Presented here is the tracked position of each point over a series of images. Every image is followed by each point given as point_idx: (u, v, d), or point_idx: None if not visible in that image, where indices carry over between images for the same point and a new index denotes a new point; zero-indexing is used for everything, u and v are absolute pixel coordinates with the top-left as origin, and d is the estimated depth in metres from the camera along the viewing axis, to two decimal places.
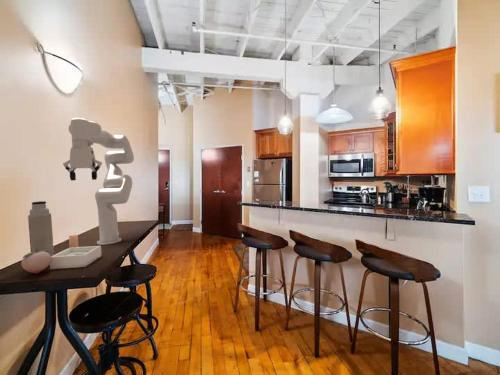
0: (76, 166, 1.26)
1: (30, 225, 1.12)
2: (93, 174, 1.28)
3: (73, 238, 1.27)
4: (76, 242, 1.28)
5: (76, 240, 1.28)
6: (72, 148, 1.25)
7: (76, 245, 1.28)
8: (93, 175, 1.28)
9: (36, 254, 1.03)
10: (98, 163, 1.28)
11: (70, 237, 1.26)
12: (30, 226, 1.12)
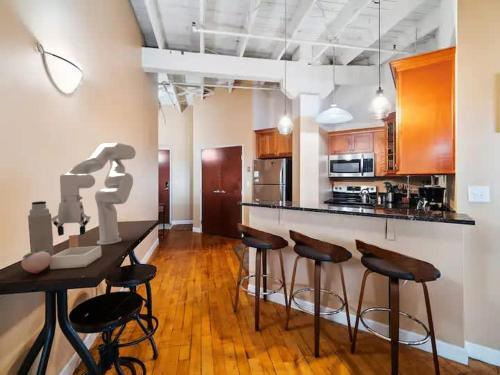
0: (64, 221, 1.25)
1: (30, 225, 1.12)
2: (81, 229, 1.26)
3: (73, 238, 1.27)
4: (76, 242, 1.28)
5: (76, 240, 1.28)
6: (61, 203, 1.24)
7: (76, 245, 1.28)
8: (81, 230, 1.26)
9: (36, 254, 1.03)
10: (87, 218, 1.27)
11: (70, 237, 1.26)
12: (30, 226, 1.12)
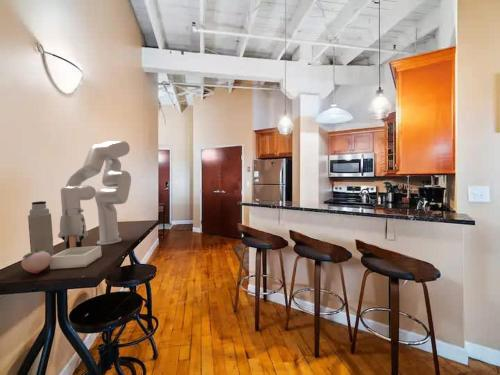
0: (66, 234, 1.26)
1: (30, 225, 1.12)
2: (77, 244, 1.27)
3: (73, 238, 1.26)
4: None
5: (76, 240, 1.28)
6: (62, 217, 1.25)
7: None
8: (77, 245, 1.27)
9: (36, 254, 1.03)
10: (84, 234, 1.28)
11: (70, 237, 1.26)
12: (30, 226, 1.12)
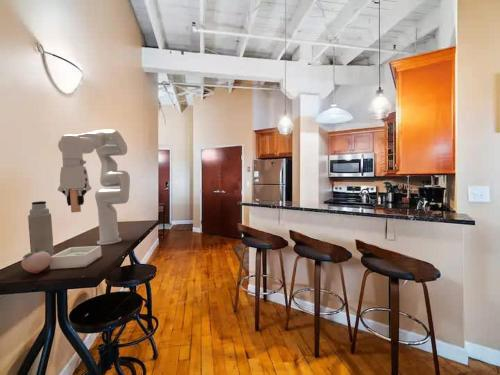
0: (67, 187, 1.14)
1: (30, 225, 1.12)
2: (79, 199, 1.16)
3: (74, 191, 1.15)
4: None
5: (78, 194, 1.16)
6: (63, 168, 1.14)
7: None
8: (79, 200, 1.16)
9: (36, 254, 1.03)
10: (87, 188, 1.17)
11: (71, 190, 1.15)
12: (30, 226, 1.12)
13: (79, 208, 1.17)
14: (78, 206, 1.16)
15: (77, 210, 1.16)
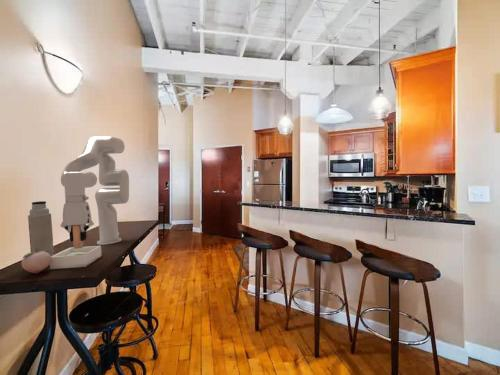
0: (70, 224, 1.15)
1: (30, 225, 1.12)
2: (82, 235, 1.17)
3: (77, 228, 1.16)
4: None
5: (80, 230, 1.17)
6: (65, 204, 1.15)
7: None
8: (82, 236, 1.17)
9: (36, 254, 1.03)
10: (89, 223, 1.17)
11: (74, 227, 1.16)
12: (30, 226, 1.12)
13: (82, 244, 1.18)
14: (81, 242, 1.17)
15: (79, 246, 1.17)
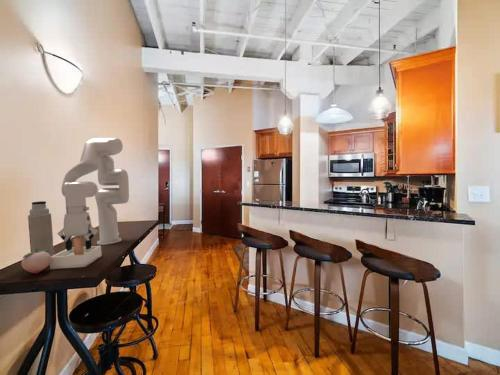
0: (70, 234, 1.16)
1: (30, 225, 1.12)
2: (87, 243, 1.17)
3: (78, 240, 1.16)
4: (81, 245, 1.17)
5: (81, 243, 1.17)
6: (66, 215, 1.15)
7: (81, 248, 1.17)
8: (87, 245, 1.17)
9: (36, 254, 1.03)
10: (93, 231, 1.18)
11: (74, 239, 1.16)
12: (30, 226, 1.12)
13: None
14: (81, 254, 1.17)
15: None
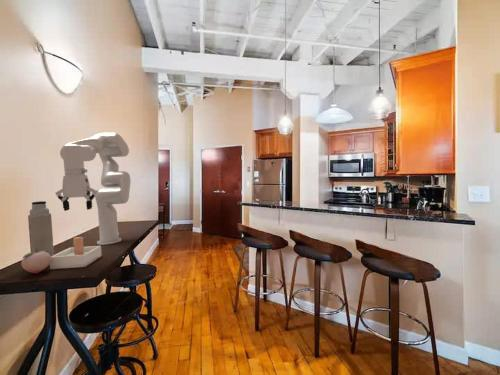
0: (69, 196, 1.18)
1: (30, 225, 1.12)
2: (88, 204, 1.20)
3: (78, 240, 1.16)
4: (81, 245, 1.17)
5: (81, 243, 1.17)
6: (65, 177, 1.17)
7: (81, 248, 1.17)
8: (88, 205, 1.20)
9: (36, 254, 1.03)
10: (93, 192, 1.20)
11: (75, 239, 1.16)
12: (30, 226, 1.12)
13: None
14: (81, 254, 1.17)
15: None
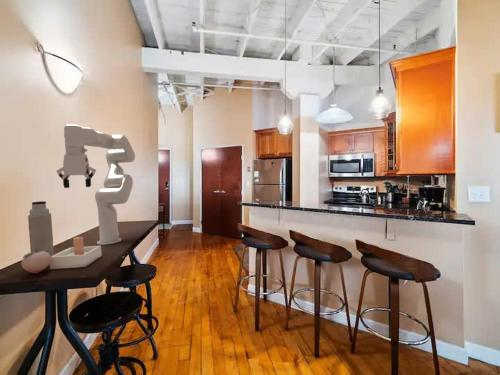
0: (70, 173, 1.24)
1: (30, 225, 1.12)
2: (87, 181, 1.25)
3: (78, 240, 1.16)
4: (81, 245, 1.17)
5: (81, 243, 1.17)
6: (65, 155, 1.23)
7: (81, 248, 1.17)
8: (87, 182, 1.25)
9: (36, 254, 1.03)
10: (92, 170, 1.26)
11: (75, 239, 1.16)
12: (30, 226, 1.12)
13: None
14: (81, 254, 1.17)
15: None
